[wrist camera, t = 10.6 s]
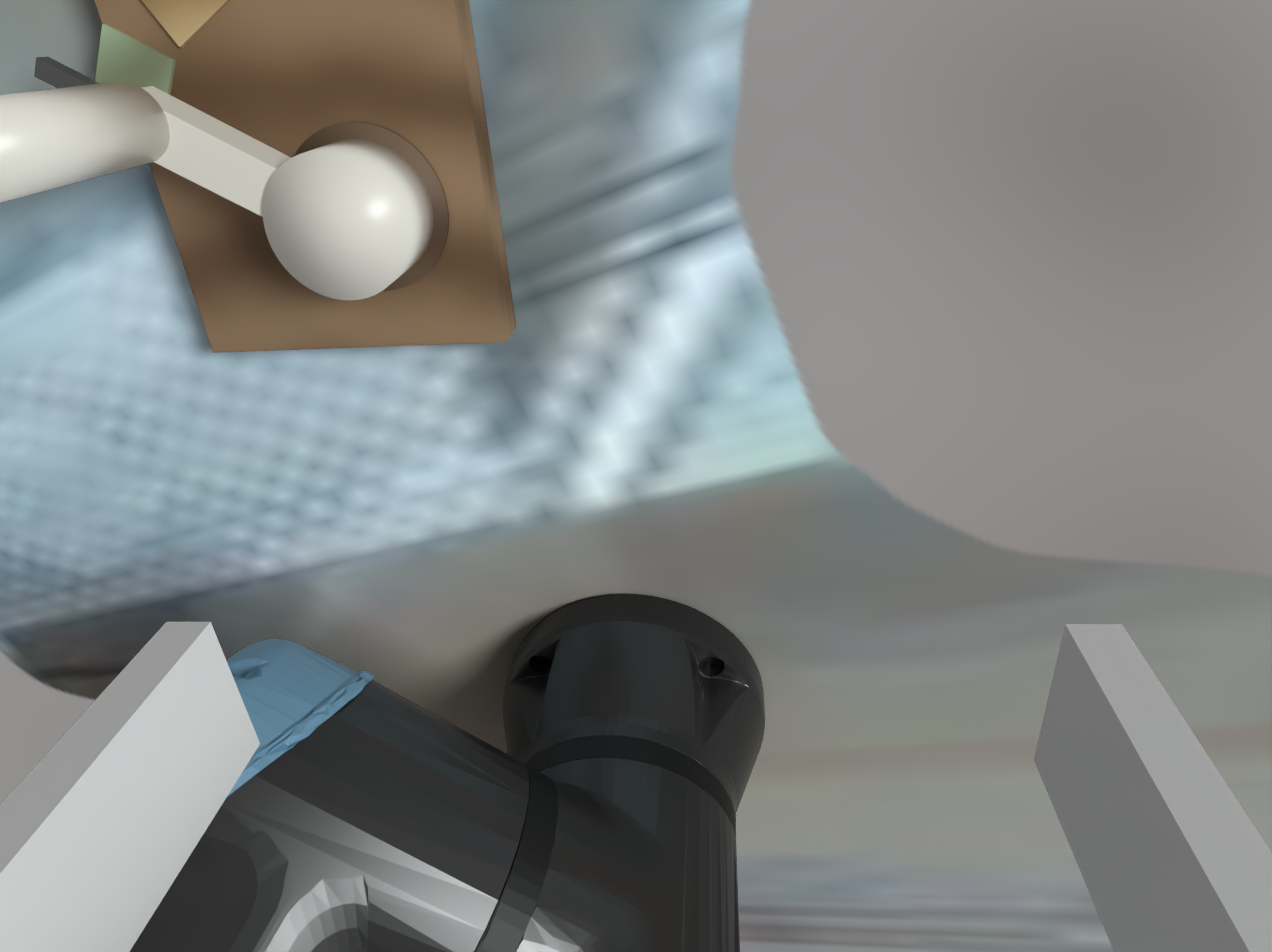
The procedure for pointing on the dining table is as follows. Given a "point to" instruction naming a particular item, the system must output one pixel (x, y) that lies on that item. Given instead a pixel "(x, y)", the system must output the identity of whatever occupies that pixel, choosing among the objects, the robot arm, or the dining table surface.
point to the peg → (226, 175)
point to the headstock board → (311, 118)
